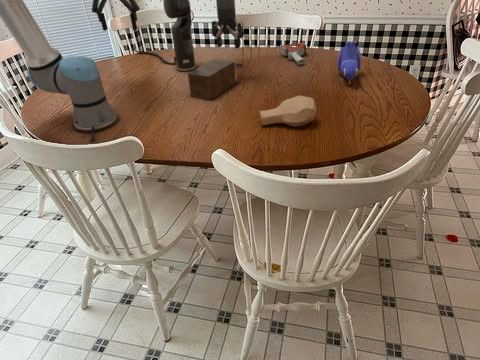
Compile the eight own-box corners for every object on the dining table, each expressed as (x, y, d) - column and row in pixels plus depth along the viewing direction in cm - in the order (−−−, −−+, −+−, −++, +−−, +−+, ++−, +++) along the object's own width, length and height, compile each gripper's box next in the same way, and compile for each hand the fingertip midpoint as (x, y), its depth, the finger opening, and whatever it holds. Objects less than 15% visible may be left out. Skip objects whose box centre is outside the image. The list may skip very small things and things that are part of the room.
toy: (336, 78, 167) (337, 88, 145) (337, 40, 160) (339, 44, 138) (358, 77, 165) (363, 87, 142) (360, 39, 158) (366, 42, 136)
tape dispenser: (301, 69, 172) (317, 54, 185) (301, 58, 169) (318, 44, 181) (269, 62, 180) (286, 49, 192) (269, 52, 176) (287, 39, 189)
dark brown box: (216, 80, 162) (214, 58, 157) (235, 83, 158) (234, 61, 152) (190, 96, 149) (187, 73, 143) (211, 100, 144) (208, 76, 139)
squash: (320, 127, 121) (320, 106, 115) (262, 137, 123) (259, 116, 116) (314, 109, 129) (313, 87, 122) (259, 119, 130) (256, 98, 124)
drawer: (226, 72, 167) (225, 55, 162) (243, 75, 163) (242, 58, 159) (196, 91, 150) (194, 73, 146) (214, 94, 146) (212, 76, 142)
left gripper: (140, -30, 140) (151, 27, 153) (82, -28, 144) (97, 28, 157) (133, -28, 135) (144, 31, 147) (72, -25, 138) (89, 32, 151)
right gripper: (245, 5, 144) (247, 46, 154) (215, 3, 150) (218, 43, 159) (237, 9, 139) (239, 51, 148) (206, 7, 144) (210, 48, 154)
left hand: (120, 29), depth 152 cm, fingers open, 13 cm apart
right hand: (228, 47), depth 154 cm, fingers open, 8 cm apart
